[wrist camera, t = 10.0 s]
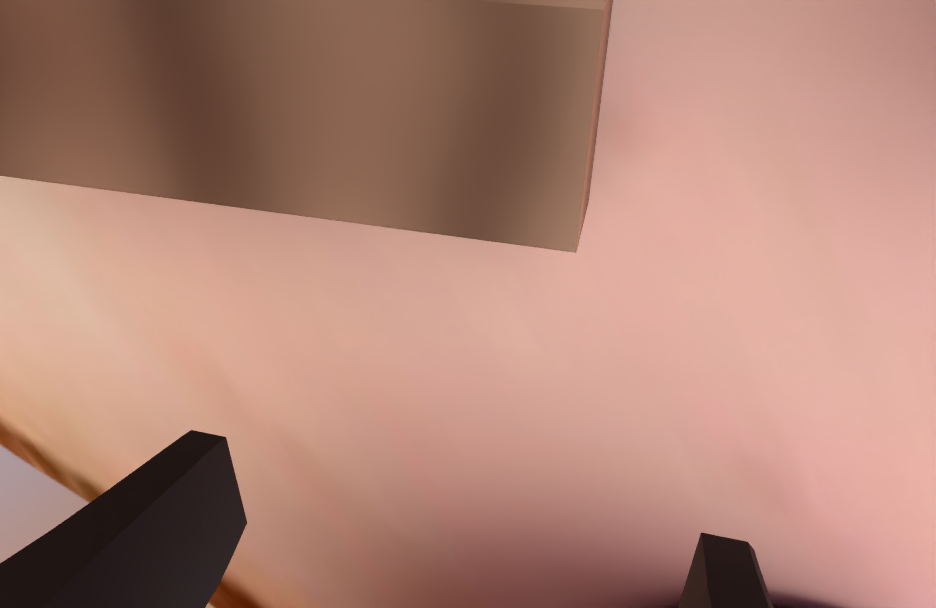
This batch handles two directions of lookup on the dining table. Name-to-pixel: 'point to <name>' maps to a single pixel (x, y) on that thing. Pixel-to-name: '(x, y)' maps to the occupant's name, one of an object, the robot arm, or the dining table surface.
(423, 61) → the block with rectangular hole
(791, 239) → the dining table surface
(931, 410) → the dining table surface
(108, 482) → the dining table surface
